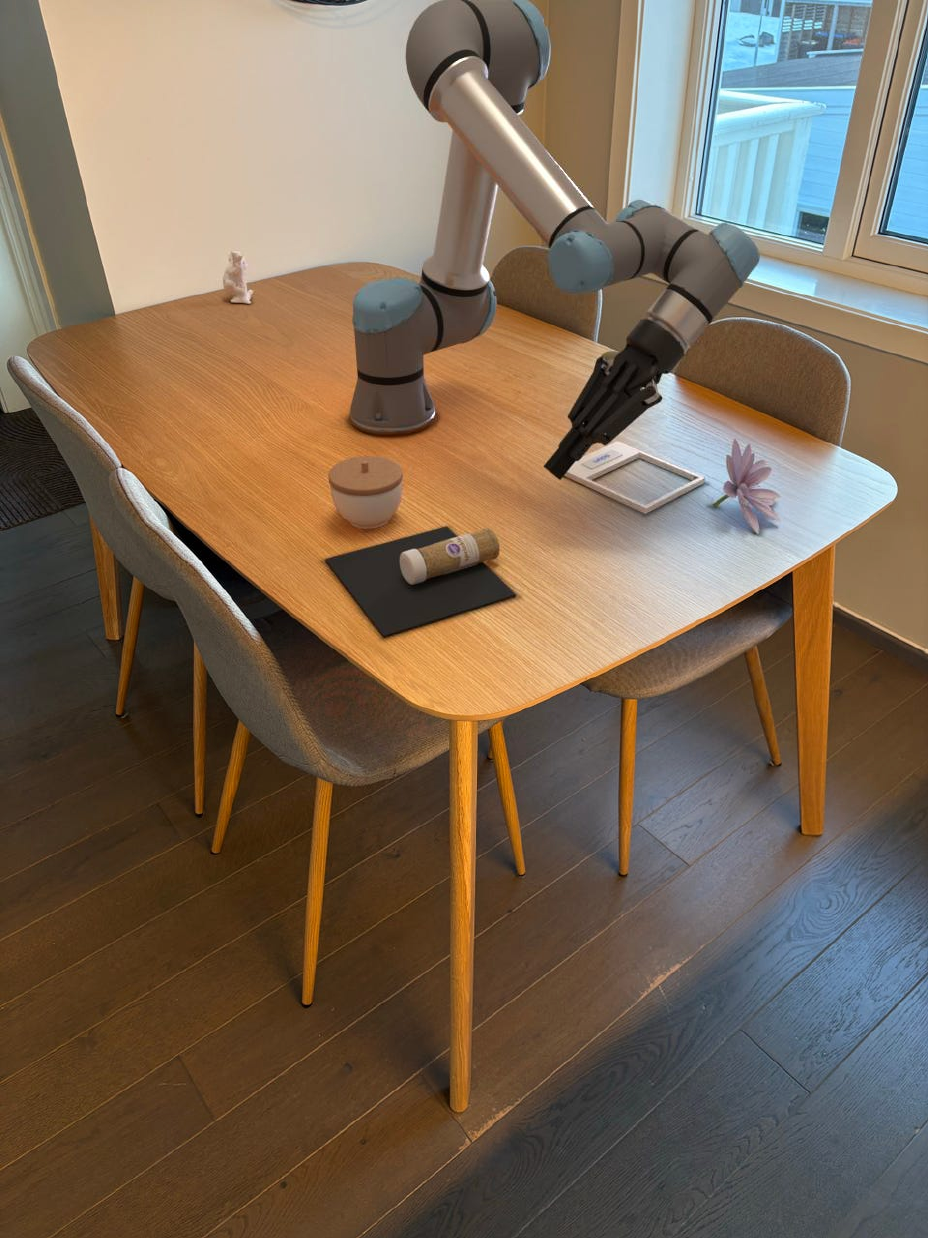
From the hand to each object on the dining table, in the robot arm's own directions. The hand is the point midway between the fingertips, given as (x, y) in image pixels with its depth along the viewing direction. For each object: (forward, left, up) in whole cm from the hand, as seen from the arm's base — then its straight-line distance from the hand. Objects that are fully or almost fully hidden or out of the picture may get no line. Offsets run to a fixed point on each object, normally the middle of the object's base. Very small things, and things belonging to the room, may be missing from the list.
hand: (551, 473), depth 128 cm
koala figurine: (-128, -7, -11) cm, 128 cm away
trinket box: (-18, -21, -11) cm, 29 cm away
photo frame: (-10, +21, -11) cm, 26 cm away
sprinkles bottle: (+1, -9, -8) cm, 12 cm away
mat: (0, -21, -11) cm, 24 cm away
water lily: (+8, +29, -11) cm, 33 cm away
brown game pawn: (-33, +33, -11) cm, 48 cm away
